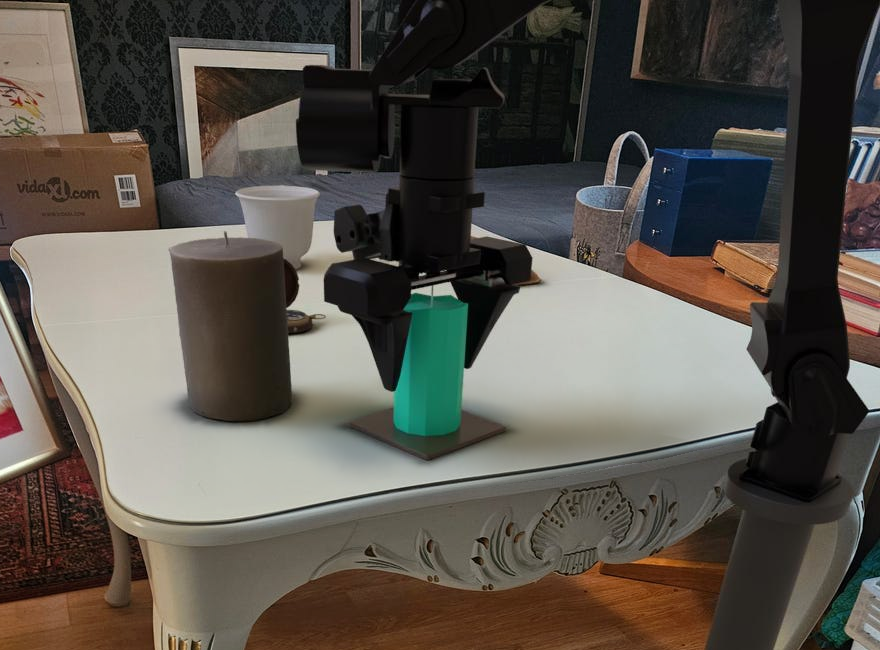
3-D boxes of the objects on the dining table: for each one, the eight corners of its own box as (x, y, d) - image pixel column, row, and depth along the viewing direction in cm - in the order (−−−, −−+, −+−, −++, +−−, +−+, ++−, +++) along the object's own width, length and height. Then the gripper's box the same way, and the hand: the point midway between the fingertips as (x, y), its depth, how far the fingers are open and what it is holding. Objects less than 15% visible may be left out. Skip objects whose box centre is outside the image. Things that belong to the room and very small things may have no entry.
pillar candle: (297, 419, 79) (289, 240, 70) (188, 425, 77) (165, 243, 68) (286, 383, 86) (277, 219, 78) (186, 388, 85) (166, 221, 76)
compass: (270, 337, 99) (266, 270, 95) (250, 319, 105) (245, 255, 101) (335, 330, 102) (333, 264, 98) (311, 313, 108) (309, 250, 104)
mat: (506, 430, 77) (506, 426, 77) (427, 460, 72) (427, 456, 71) (427, 401, 83) (427, 397, 83) (348, 426, 77) (348, 422, 77)
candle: (459, 437, 75) (469, 292, 68) (390, 434, 75) (392, 289, 68) (460, 413, 80) (469, 275, 73) (396, 409, 80) (398, 272, 73)
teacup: (324, 254, 136) (322, 183, 131) (320, 276, 124) (317, 198, 119) (248, 253, 136) (242, 182, 130) (236, 275, 124) (229, 197, 118)
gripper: (446, 156, 76) (437, 338, 85) (274, 172, 65) (285, 378, 74) (545, 171, 69) (525, 365, 78) (373, 191, 59) (372, 413, 68)
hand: (428, 378), depth 75 cm, fingers open, 9 cm apart
